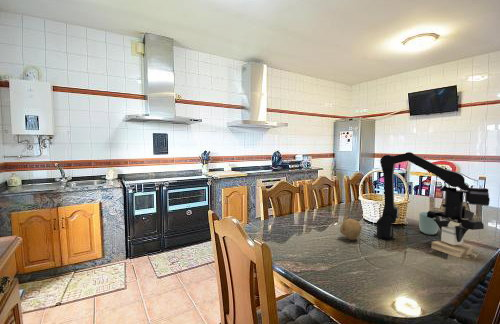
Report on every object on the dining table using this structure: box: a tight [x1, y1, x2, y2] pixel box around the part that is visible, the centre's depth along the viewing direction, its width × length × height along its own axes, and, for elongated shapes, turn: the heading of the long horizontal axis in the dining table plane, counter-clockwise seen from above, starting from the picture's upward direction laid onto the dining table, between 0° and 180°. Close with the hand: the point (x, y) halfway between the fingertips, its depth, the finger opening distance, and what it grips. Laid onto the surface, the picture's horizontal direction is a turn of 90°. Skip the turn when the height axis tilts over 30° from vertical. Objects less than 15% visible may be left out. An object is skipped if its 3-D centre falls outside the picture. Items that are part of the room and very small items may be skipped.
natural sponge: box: [339, 218, 362, 241], centre depth 112 cm, size 9×9×10 cm
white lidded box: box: [440, 225, 464, 245], centre depth 101 cm, size 5×5×6 cm
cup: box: [418, 211, 439, 236], centre depth 121 cm, size 8×8×10 cm
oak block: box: [431, 239, 474, 258], centre depth 101 cm, size 10×10×3 cm
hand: (452, 239), depth 101 cm, fingers closed on white lidded box, 5 cm apart
